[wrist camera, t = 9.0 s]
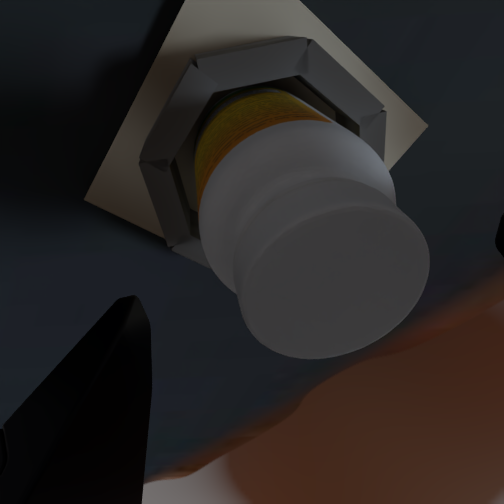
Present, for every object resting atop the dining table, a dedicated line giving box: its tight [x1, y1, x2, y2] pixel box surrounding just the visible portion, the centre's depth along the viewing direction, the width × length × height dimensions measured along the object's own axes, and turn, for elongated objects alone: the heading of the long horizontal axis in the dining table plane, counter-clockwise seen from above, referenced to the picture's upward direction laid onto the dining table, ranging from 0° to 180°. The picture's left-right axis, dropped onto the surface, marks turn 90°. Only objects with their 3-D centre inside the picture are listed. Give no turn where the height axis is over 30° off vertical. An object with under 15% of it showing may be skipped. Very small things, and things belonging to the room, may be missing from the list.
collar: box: [84, 0, 428, 270], centre depth 15 cm, size 11×11×3 cm
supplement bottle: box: [194, 86, 430, 359], centre depth 11 cm, size 5×5×10 cm
